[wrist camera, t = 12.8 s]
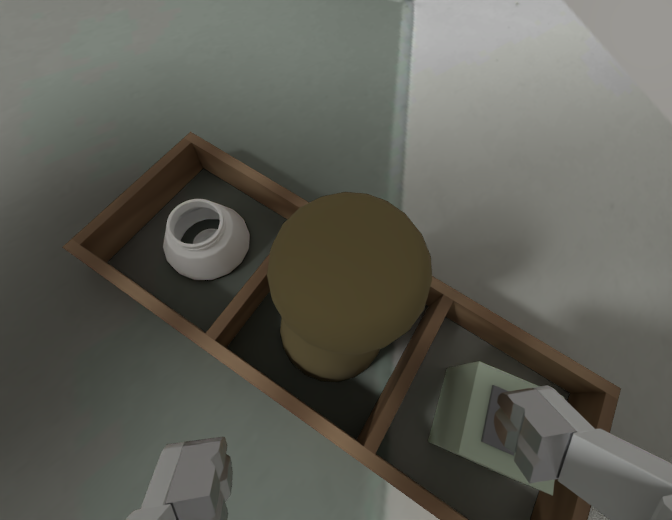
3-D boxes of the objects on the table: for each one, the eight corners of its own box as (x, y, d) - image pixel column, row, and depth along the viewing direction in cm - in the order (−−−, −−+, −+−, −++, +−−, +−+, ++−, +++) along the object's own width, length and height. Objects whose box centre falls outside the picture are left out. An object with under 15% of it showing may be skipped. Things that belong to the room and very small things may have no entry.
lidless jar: (194, 200, 22) (152, 264, 20) (178, 172, 19) (128, 244, 17) (263, 225, 22) (227, 294, 20) (256, 201, 19) (214, 277, 17)
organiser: (91, 264, 20) (62, 247, 17) (202, 158, 23) (190, 131, 21) (526, 577, 15) (564, 609, 13) (582, 389, 19) (620, 388, 17)
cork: (375, 274, 21) (437, 157, 11) (391, 376, 18) (490, 350, 8) (277, 282, 20) (244, 164, 10) (282, 388, 18) (244, 376, 8)
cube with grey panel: (427, 441, 17) (459, 454, 14) (446, 368, 19) (480, 360, 15) (500, 474, 17) (555, 496, 13) (514, 396, 19) (566, 396, 15)
